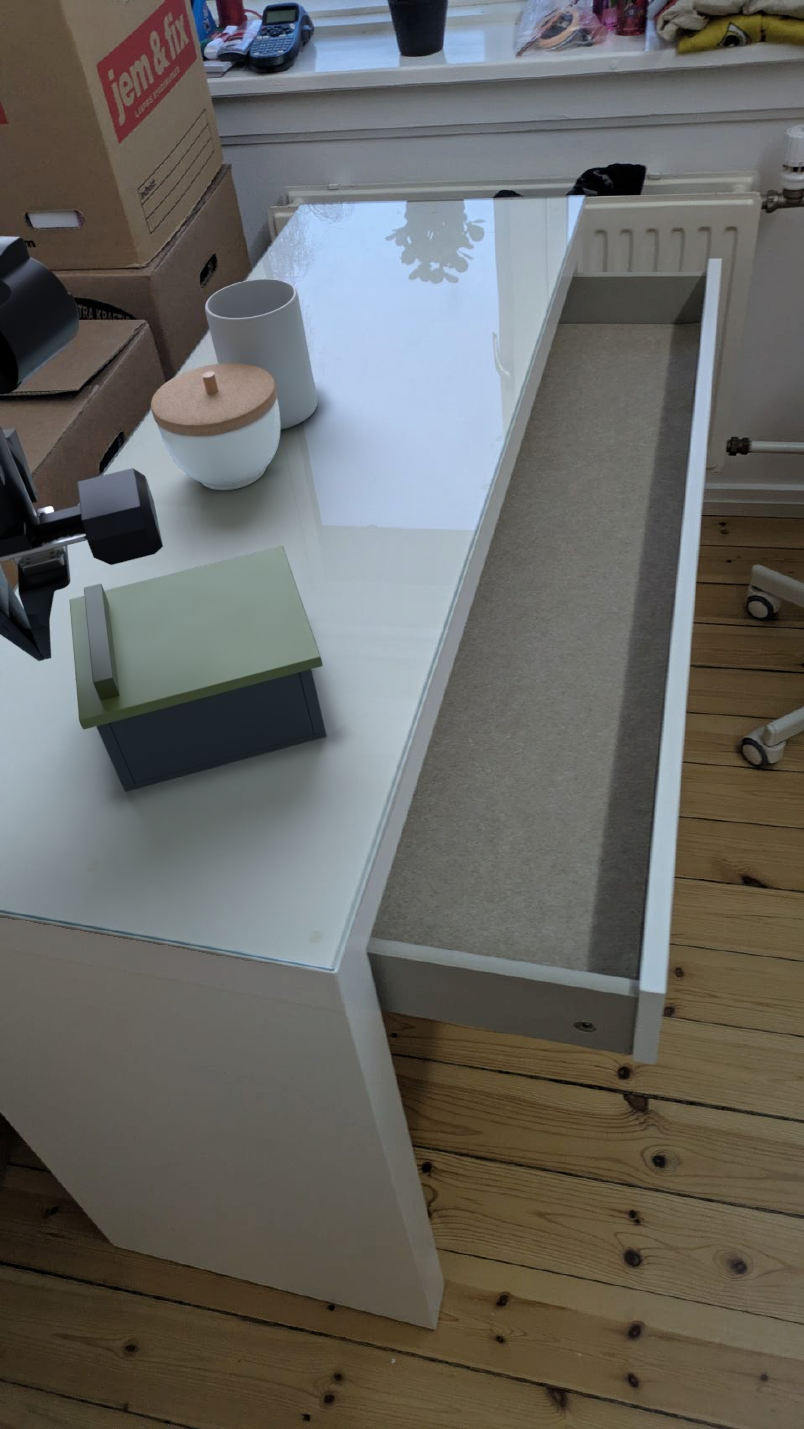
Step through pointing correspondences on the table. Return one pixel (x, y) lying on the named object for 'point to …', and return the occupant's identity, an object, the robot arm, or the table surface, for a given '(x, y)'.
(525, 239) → the table surface
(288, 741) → the bin
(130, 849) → the table surface
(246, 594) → the bin lid
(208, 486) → the trinket box
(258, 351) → the mug
